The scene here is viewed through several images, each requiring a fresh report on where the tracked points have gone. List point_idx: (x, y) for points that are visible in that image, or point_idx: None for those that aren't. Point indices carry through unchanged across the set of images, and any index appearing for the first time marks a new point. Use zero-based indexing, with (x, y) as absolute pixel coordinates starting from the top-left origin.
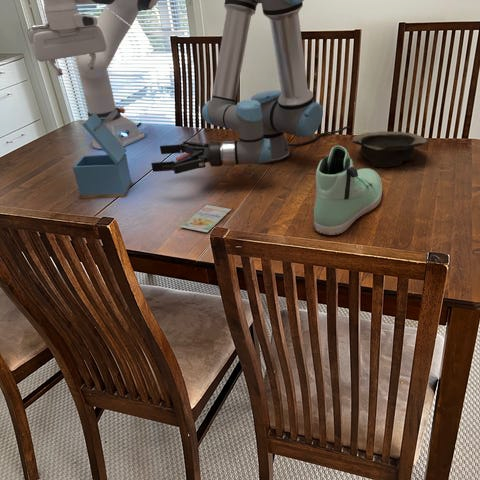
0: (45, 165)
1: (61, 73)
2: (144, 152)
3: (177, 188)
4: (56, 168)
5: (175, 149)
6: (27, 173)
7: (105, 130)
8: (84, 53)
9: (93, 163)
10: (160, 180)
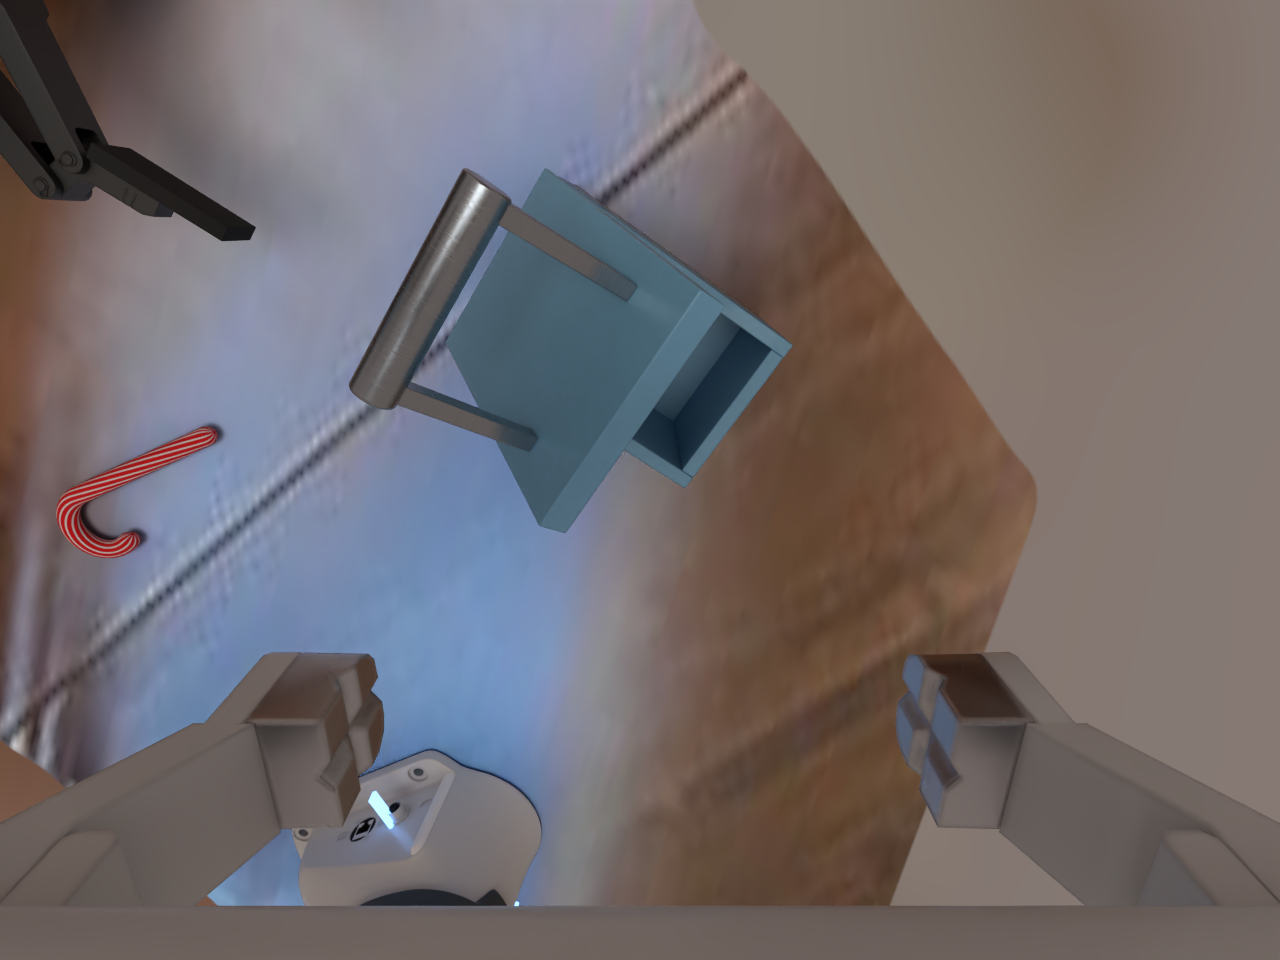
0: (772, 765)
1: (945, 666)
2: (344, 639)
3: (301, 85)
4: (744, 708)
5: (142, 164)
6: (860, 731)
7: (524, 388)
8: (212, 930)
9: (645, 434)
10: (358, 256)
